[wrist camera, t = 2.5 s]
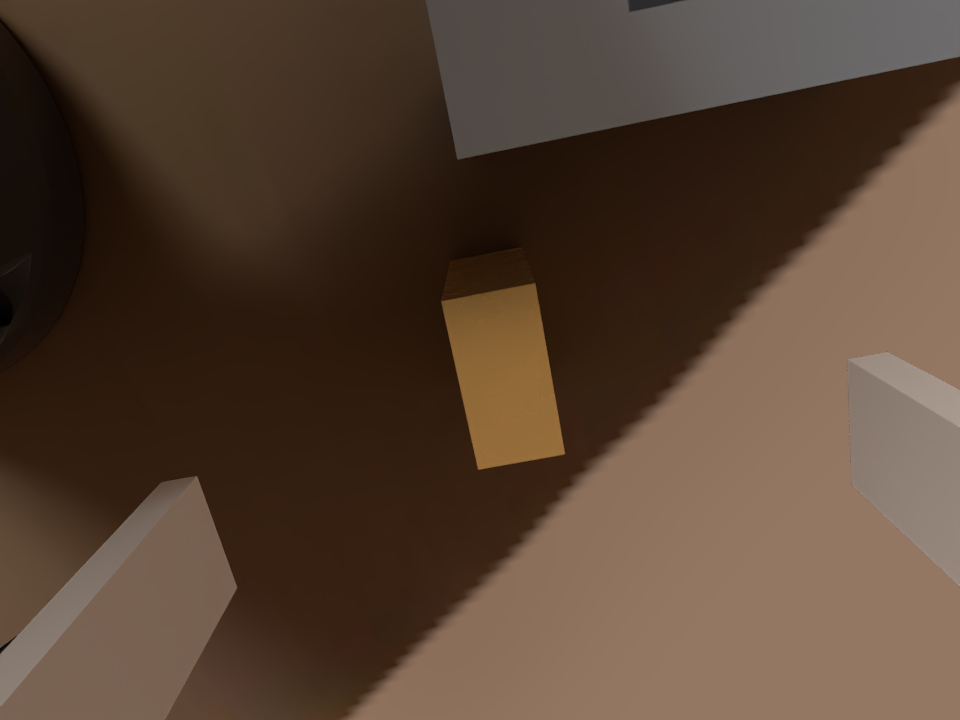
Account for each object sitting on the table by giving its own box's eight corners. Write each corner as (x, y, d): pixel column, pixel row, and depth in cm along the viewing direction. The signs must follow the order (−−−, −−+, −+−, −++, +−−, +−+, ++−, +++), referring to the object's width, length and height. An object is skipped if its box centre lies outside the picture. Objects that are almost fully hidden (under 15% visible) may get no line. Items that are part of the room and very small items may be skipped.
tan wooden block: (478, 393, 25) (477, 469, 19) (450, 260, 24) (441, 301, 18) (545, 381, 25) (565, 454, 19) (521, 246, 23) (535, 282, 18)
